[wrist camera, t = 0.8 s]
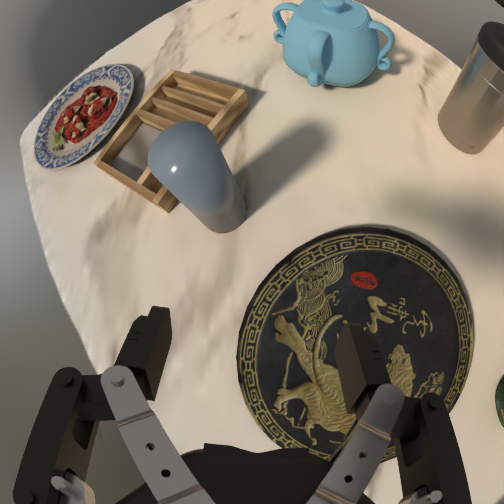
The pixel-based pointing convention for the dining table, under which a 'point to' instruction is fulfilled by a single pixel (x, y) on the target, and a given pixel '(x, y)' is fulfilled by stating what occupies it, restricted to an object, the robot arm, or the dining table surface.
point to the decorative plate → (331, 324)
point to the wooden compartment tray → (160, 118)
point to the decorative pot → (332, 41)
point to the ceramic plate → (83, 116)
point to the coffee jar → (500, 401)
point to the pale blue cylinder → (198, 175)
